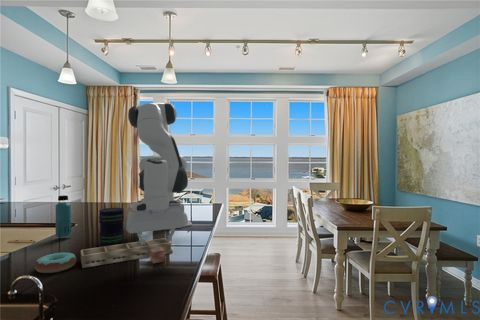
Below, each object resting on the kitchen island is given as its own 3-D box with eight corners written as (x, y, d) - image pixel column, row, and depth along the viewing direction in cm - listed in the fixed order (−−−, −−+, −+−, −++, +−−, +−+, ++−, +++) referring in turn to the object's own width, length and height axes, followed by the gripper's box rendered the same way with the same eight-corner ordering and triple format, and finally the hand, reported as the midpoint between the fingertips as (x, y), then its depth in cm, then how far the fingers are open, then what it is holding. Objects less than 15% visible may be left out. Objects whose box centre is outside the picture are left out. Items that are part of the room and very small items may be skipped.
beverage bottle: (64, 240, 133) (63, 196, 133) (51, 240, 134) (51, 196, 134) (74, 237, 139) (74, 194, 139) (62, 236, 141) (62, 194, 141)
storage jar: (129, 242, 130) (128, 208, 130) (112, 248, 121) (112, 211, 121) (111, 240, 133) (110, 207, 134) (93, 246, 124) (93, 210, 124)
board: (164, 246, 123) (164, 238, 123) (172, 252, 114) (172, 243, 114) (80, 259, 107) (80, 249, 107) (82, 268, 98) (82, 257, 98)
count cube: (161, 258, 108) (161, 247, 108) (164, 261, 105) (164, 250, 105) (150, 260, 106) (150, 249, 106) (153, 263, 103) (153, 252, 103)
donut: (71, 272, 95) (71, 260, 95) (28, 277, 91) (28, 264, 92) (80, 260, 106) (80, 249, 106) (42, 264, 103) (42, 252, 103)
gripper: (181, 201, 113) (181, 237, 113) (125, 204, 103) (125, 244, 103) (187, 202, 108) (187, 240, 108) (128, 207, 97) (128, 249, 97)
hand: (156, 242), depth 105 cm, fingers open, 8 cm apart
